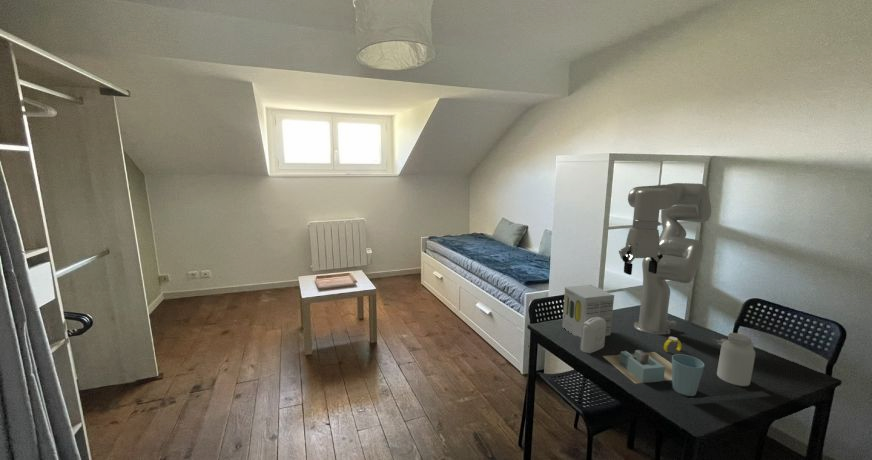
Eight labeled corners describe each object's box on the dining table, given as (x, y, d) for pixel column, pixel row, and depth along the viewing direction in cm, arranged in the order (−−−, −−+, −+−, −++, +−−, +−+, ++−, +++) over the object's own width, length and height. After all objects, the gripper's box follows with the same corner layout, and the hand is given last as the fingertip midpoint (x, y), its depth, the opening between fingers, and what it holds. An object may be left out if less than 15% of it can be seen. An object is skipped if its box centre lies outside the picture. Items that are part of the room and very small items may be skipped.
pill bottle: (727, 388, 107) (734, 341, 104) (710, 373, 114) (717, 329, 112) (756, 390, 106) (764, 343, 103) (737, 375, 113) (745, 331, 111)
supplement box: (561, 327, 148) (563, 286, 145) (588, 323, 151) (591, 284, 148) (582, 342, 135) (585, 298, 132) (611, 337, 138) (615, 294, 135)
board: (654, 355, 126) (656, 334, 124) (693, 381, 110) (696, 358, 109) (602, 359, 123) (604, 338, 121) (634, 387, 107) (637, 363, 106)
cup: (689, 386, 107) (694, 354, 106) (706, 402, 100) (710, 368, 98) (663, 384, 108) (666, 353, 106) (677, 401, 101) (681, 367, 99)
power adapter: (712, 352, 127) (714, 337, 126) (709, 346, 132) (711, 332, 131) (752, 360, 122) (755, 344, 121) (748, 354, 127) (750, 338, 126)
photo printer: (594, 344, 133) (597, 313, 131) (605, 349, 129) (608, 317, 127) (577, 352, 127) (580, 319, 125) (588, 357, 124) (591, 324, 122)
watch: (667, 357, 125) (668, 341, 124) (661, 353, 128) (662, 337, 127) (682, 354, 126) (683, 339, 125) (676, 350, 128) (677, 335, 127)
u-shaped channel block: (663, 380, 108) (665, 366, 108) (642, 382, 107) (643, 368, 106) (639, 362, 118) (640, 349, 118) (619, 364, 117) (620, 351, 117)
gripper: (659, 223, 128) (653, 269, 131) (615, 224, 125) (610, 271, 128) (675, 226, 121) (670, 275, 124) (629, 227, 118) (624, 277, 121)
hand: (639, 273), depth 126 cm, fingers open, 9 cm apart
